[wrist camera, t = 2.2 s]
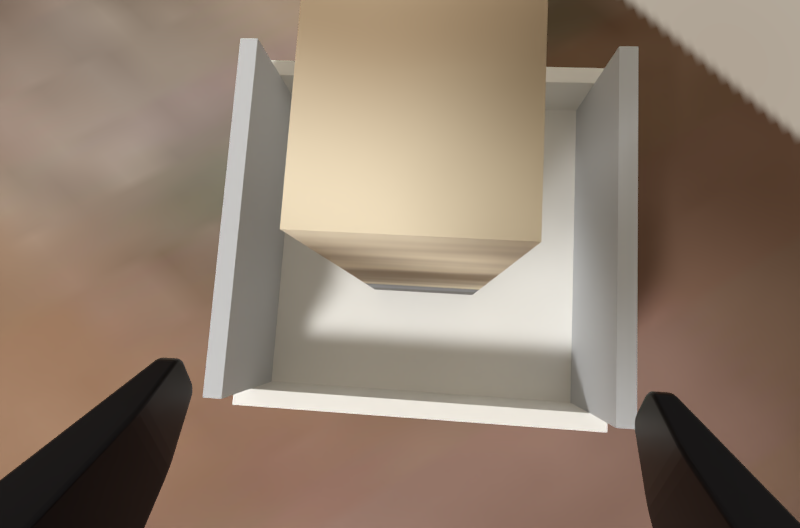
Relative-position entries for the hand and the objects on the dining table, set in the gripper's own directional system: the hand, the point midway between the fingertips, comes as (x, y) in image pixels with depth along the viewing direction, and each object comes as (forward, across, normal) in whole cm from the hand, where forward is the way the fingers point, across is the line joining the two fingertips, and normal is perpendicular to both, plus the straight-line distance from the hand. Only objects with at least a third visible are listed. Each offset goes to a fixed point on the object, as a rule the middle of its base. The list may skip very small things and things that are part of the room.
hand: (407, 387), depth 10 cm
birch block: (+11, 0, +4) cm, 12 cm away
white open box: (+11, 0, +5) cm, 12 cm away
